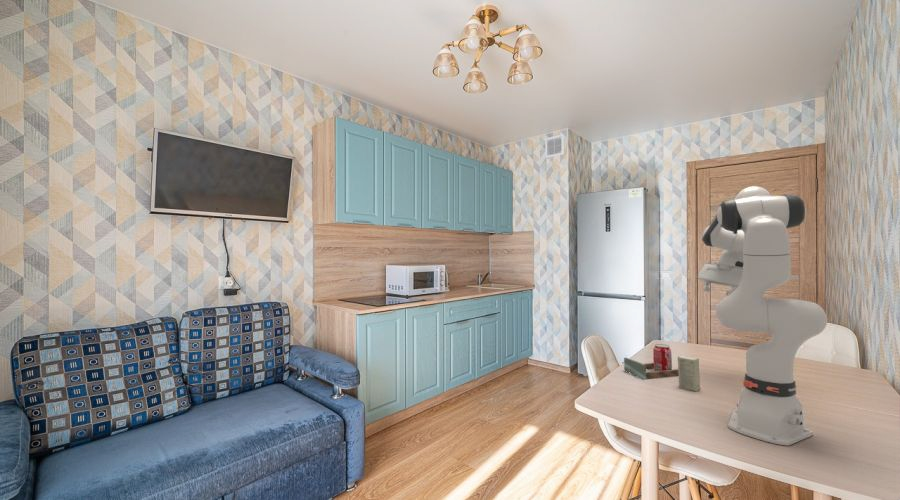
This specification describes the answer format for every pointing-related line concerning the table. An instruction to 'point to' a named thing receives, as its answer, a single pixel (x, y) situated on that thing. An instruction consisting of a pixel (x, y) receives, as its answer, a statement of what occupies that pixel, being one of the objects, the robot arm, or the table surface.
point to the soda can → (662, 357)
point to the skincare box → (689, 373)
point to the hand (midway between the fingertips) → (716, 293)
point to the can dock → (641, 368)
